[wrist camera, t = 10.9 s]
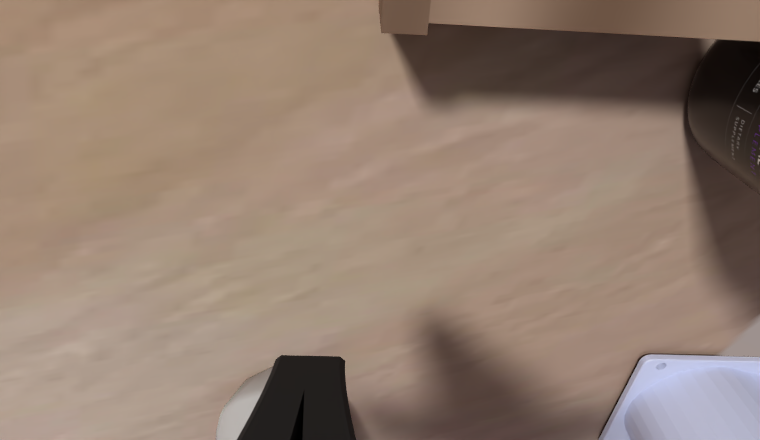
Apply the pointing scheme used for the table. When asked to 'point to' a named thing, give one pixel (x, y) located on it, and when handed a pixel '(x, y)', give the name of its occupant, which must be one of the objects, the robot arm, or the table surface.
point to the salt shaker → (241, 406)
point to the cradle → (582, 16)
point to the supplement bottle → (729, 108)
